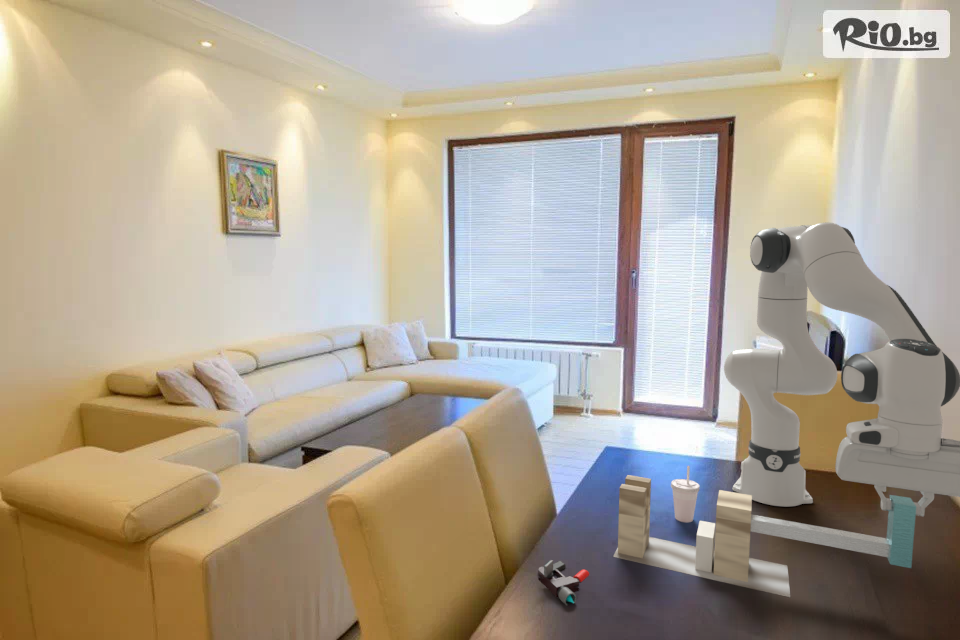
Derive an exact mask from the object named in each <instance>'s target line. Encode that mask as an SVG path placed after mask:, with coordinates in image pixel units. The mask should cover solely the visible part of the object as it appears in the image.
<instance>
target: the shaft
mask: <svg viewBox="0 0 960 640" xmlns="http://www.w3.org/2000/svg"><path fill="white" fill-rule="evenodd" d="M889 499H891V500H892V501H893V507H892V508H893V510H892V511H888V512H887V513H888V515H887V525H886V526H887V529H886V537H881V536H875V535H870V534H864V533H858V532H854V531H853V532H852V531H847V530H842V529H835V528H830V527H826V526H819V525H813V524H807V523H803V522H802V523H801V522H796V521H791V520H785V519H781V518H775V517H774V518H773V517H768V516H763V515H757V514H752V513H751V529H750V533H751V532H752V533H757V534H764V535H768V536H774V537H777V538H778V537H779V538H784V539H788V540H789V539H790V540H794V541H800V542H806V543H811V544H816V545H821V546H827V547H832V548H837V549H840V550H841V549H842V550H848V551H853V552H858V553H862V554H868V555H872V556H873V555H875V556H879V557H884V558H887V561H888V563H889V565H891V566H898V567H903V568H908V569H912V565H913V550H914V540H915V538H914V537H915V528H916V527H915V526H916V516H917V515H916V505H915V504H914V502H915V501H913V499H912V498H911V497H907V496H901V495H900V496H899V495H892V494H889Z"/></svg>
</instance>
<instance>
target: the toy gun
mask: <svg viewBox="0 0 960 640" xmlns="http://www.w3.org/2000/svg"><path fill="white" fill-rule="evenodd" d="M564 569H567V567H566V564H565V563H564V562H563V561H562V560H558V561H555V562H554V560H552V559H550V560H549V561H548V562H546V564H544V565H543V566H540V567H538V570H537V571H538V573H537V574H538V575H539V576H540V577H538V581H539V582H540V583H541V584H542V585H543V586H545V587H546V588H547V590H548V591H550V593H551V594H552V595H553V596H554V597H555V598H558V599H559V600H560V601H561V602H562V603H563V604H564V605H565V606H566V607H567V606H568V603H567V602H569V603H571V604H572V605H573V604H575V603H576V602H577V596H576V595H577V594H575V593H576V592H579V591H580V588H579V587H577V586H579V585H580V583H582V582H583V581H585V579H587V578H588V577H589V576H590V572H589V571H588V570H587V569H581V570H579V571H578V572H577V573H576V574H575V575H573V576H571V575H570V576H565V575H564V574H563V572H561V571H563V570H564ZM554 574H555V575H556V576H557V578H555V576H554Z"/></svg>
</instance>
